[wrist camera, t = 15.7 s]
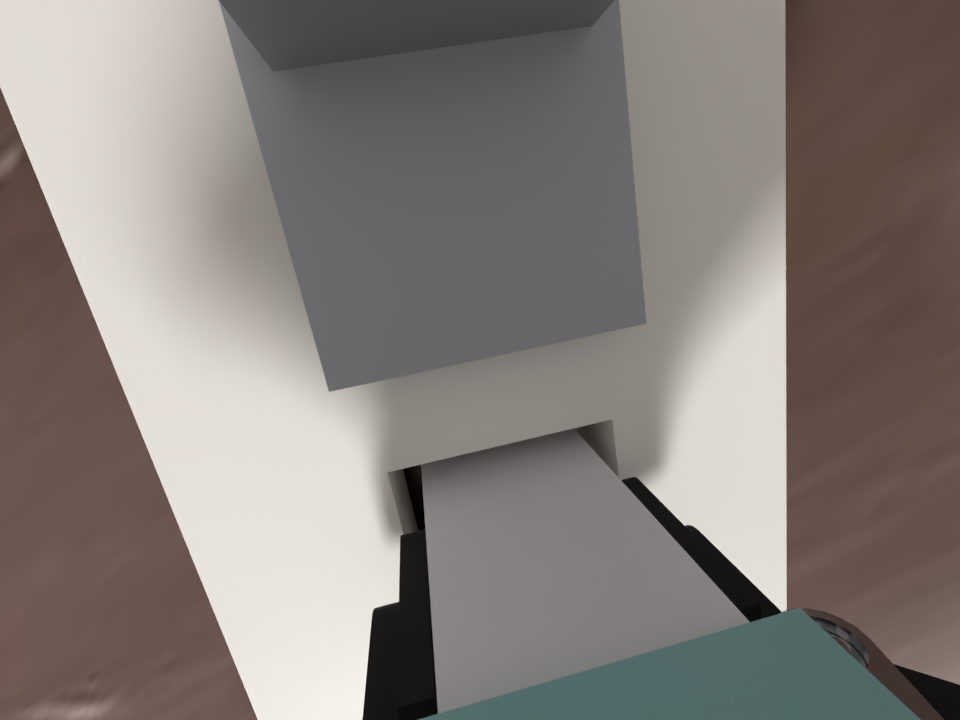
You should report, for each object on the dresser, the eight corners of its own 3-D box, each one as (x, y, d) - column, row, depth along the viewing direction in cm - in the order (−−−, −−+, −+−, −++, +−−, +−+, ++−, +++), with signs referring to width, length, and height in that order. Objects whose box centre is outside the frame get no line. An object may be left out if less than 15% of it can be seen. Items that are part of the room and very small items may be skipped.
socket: (720, 608, 17) (786, 684, 14) (323, 722, 15) (304, 834, 12) (689, -12, 12) (784, -97, 9) (91, 71, 10) (-35, 1, 7)
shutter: (627, 317, 10) (757, 360, 6) (335, 379, 9) (289, 467, 6) (595, -22, 8) (745, -231, 5) (237, 24, 8) (83, -176, 4)
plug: (582, 407, 12) (1106, 892, 3) (602, 559, 13) (1012, 1220, 4) (401, 448, 12) (386, 1175, 3) (439, 603, 13) (519, 1454, 4)
